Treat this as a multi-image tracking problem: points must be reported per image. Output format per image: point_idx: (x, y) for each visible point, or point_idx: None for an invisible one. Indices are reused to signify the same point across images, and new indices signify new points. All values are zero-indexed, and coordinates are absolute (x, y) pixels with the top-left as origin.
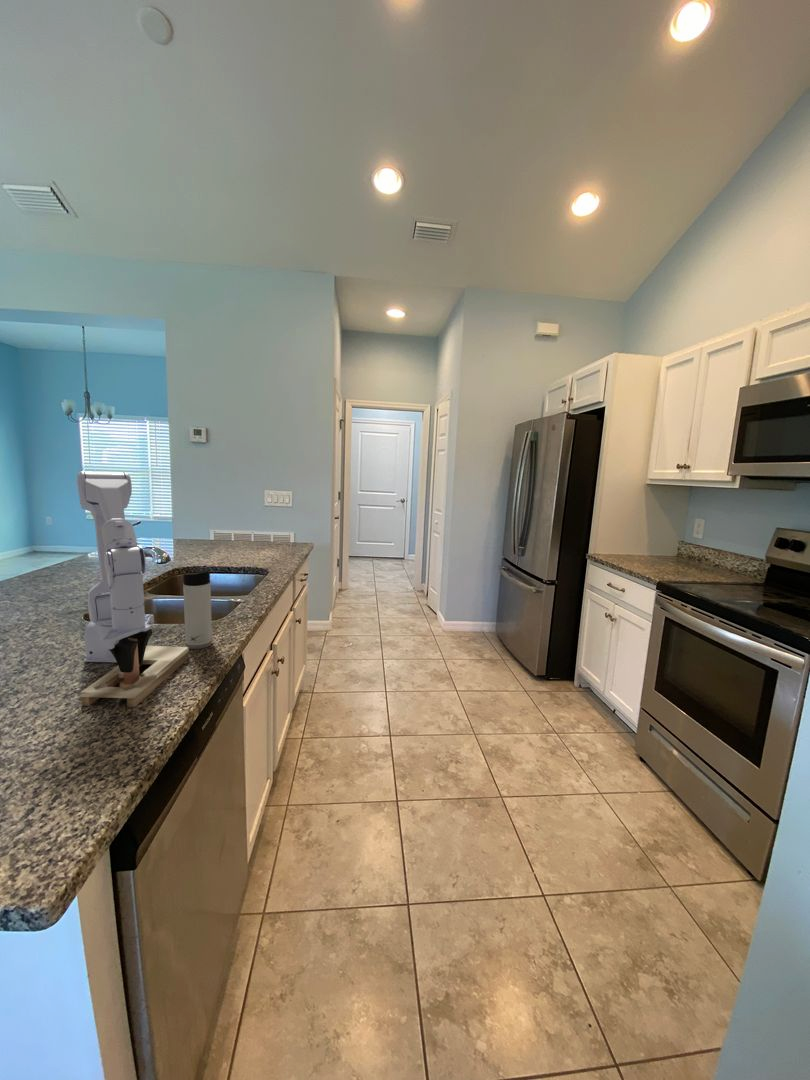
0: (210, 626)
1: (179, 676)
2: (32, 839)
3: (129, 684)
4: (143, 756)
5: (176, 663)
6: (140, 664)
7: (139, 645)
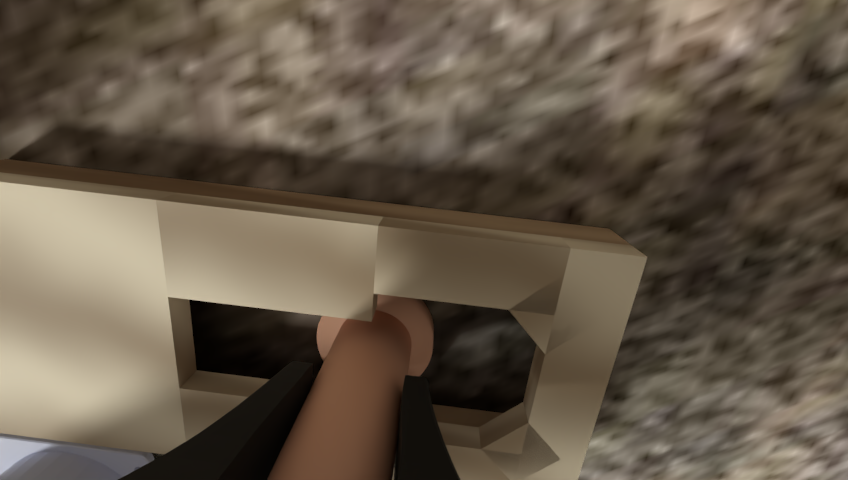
0: None
1: (254, 121)
2: None
3: (411, 340)
4: None
5: (135, 184)
6: (312, 365)
7: None
